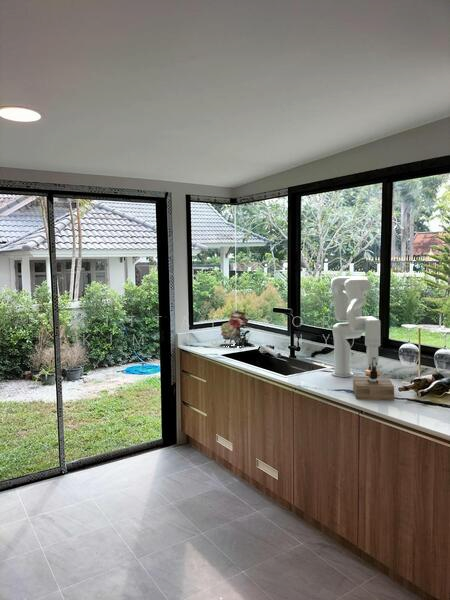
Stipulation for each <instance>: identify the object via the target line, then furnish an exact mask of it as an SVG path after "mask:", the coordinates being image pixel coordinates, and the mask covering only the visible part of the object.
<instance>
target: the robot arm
mask: <svg viewBox="0 0 450 600" xmlns="http://www.w3.org/2000/svg"><path fill="white" fill-rule="evenodd" d="M371 283H372V282H371V281H370V280H369V278H367V277H365V276H360V275H345V276H344V275H343V276H342V275H341V276H340V275H339V276H336V277H333V278H332V280H331V283H330V288H331V289H330V290H331V293H332V297H333V308H334V318H335V320H336V321H340V322H339V323H338V322H337V323H335V324H333V327H332V336H333V357H334V358H333V361H334V365H333V366H334V370H333V371H332V372H331V375H332V377H333V376H334V377H338V378H348V377H349V378H350V377H353V376H354V373H353V372H352V371H351V366H352V365H351V364H352V363H351V344H350V343H349V341H348V340H349V339H359V338H361V336H362V335H363V331H364V346H366V353H365V355H366V358H365V361H366V364H367V366H368V369H371V371H370V378H371V379H377V369H378V368H377V366H379V347H381V320H380V319H379V318H375V317H374V316H369V315H368V316H367V315H366V316H363V313H362V308H361V307H362V306H364V305H365V304H366V301H367V299H366V296H365V294H366V293H369V292H370V291H371V288H372V284H371ZM343 321H344V322H343ZM345 321H347V322H345Z"/></svg>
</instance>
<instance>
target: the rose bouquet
mask: <svg viewBox="0 0 450 600" xmlns="http://www.w3.org/2000/svg"><path fill="white" fill-rule="evenodd" d="M246 316H247V313H246V312H243V311H240V310H232V311H231V312H230V314H229V317H230V318H229V320H228V321H227V322H225V323H222V325H221V326H220V330H221V334H220V336H222V338H223V339H224V341H223V343H220V344H219V347H220V346H227V347H228V346H229V348H228V349H231V348H233V349H235V348H237V346H241V347H239V348H240V349H241V348H246V346H247V345H249V346H251V347H255V344H253V343H251V342H249V339H246V338H247V337H248V336H246V335H245V336H244V337H242V335H241V334H242V333H241V332H243V330H241V329H252V327H250V326H248V322H249V321H250V320H251V318H246ZM227 340H228V341H229V343H227V342H226V341H227ZM232 341H233V342H234V343H236V345H237V346H236V345H235V346H231V345H233V343H232Z"/></svg>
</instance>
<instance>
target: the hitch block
mask: <svg viewBox="0 0 450 600" xmlns="http://www.w3.org/2000/svg"><path fill="white" fill-rule="evenodd" d="M352 385H353V386H352V390H353V393H354V396H355V400H366V401H367V400H369V401H370V400H372V401H373V400H374V401H376V400H377V401H395V386H394V384H393V381H392V380H391V379H390V377H389V376H379V377H377V382H369V376H366V375H365V376H364V375H363V376H362V375H360V376H358V375H356V376H355V375H353V376H352Z"/></svg>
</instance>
